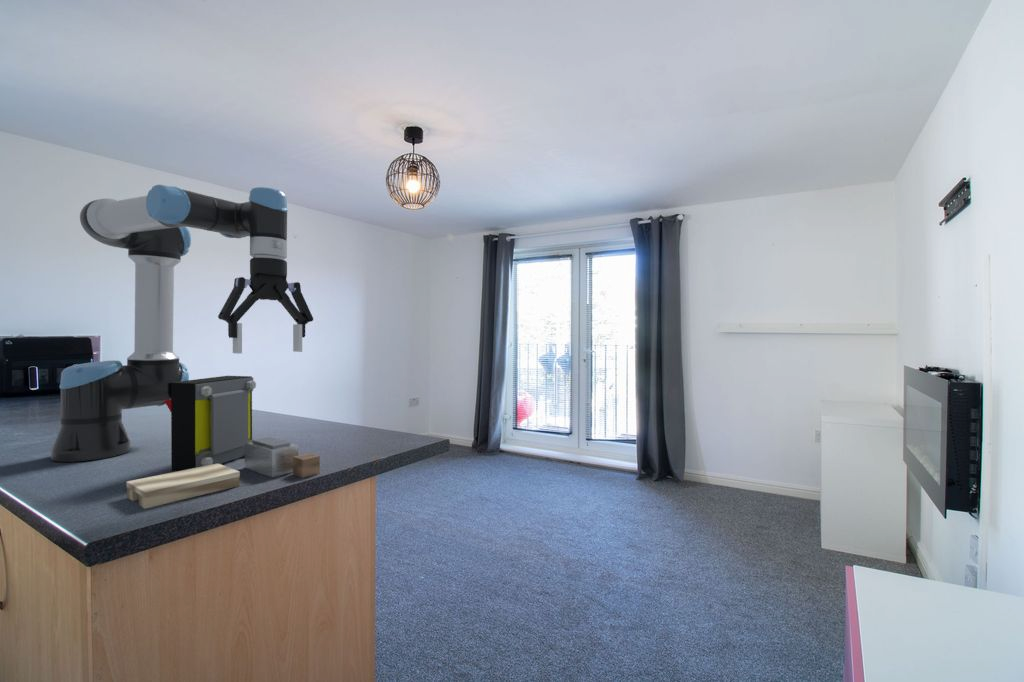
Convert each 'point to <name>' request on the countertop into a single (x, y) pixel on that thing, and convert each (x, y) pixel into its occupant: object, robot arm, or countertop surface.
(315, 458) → the walnut block
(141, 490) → the stand
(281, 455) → the block
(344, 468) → the countertop surface
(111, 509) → the countertop surface
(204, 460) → the electrical component
